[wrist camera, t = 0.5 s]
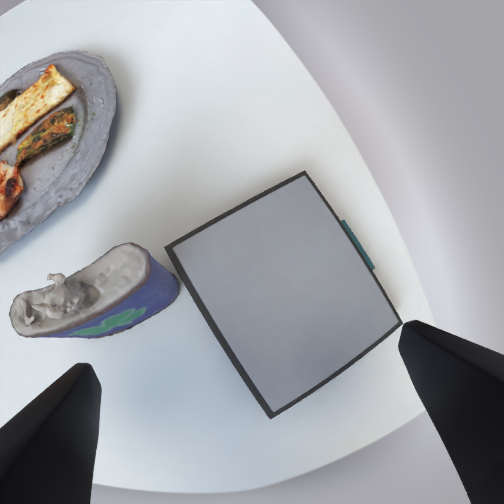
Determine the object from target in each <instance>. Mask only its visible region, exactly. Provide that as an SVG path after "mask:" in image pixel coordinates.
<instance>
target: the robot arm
mask: <svg viewBox="0 0 504 504" xmlns="http://www.w3.org/2000/svg"><path fill="white" fill-rule="evenodd" d="M398 348H399V352H400V355H401V357H402V359H403V361H404V364H405V366H406V368H407V371H408V373H409V375H410V378H411V380H412V383H413V385H414V387H415V389H416V391H417V393H418V395H419V397H420V399H421V401H422V403H423V405H424V407H425V408H426V410H427V412H428V414H429V416H430V418H431V420H432V422H433V423H434V426H435V427H436V429H437V431H438V433H439V435H440V437H441V439H442V441H443V443H444V445H445V447H446V449H447V451H448V453H449V455H450V457H451V460H452V462H453V464H454V466H455V468H456V470H457V472H458V474H459V477H460V479H461V481H462V483H463V485H464V488H465V490H466V492H467V495H468V497H469V500H470V502H471V504H504V355H502V354H500V353H498V352H495V351H493V350H490V349H488V348H485V347H483V346H480V345H478V344H475V343H473V342H470V341H468V340H466V339H463V338H460V337H458V336H456V335H453V334H451V333H448V332H446V331H443V330H441V329H438V328H436V327H433V326H431V325H428V324H426V323H423V322H421V321H418V320H413V321H409V322H406V323H404V325H403V327H402V331H401V336H400V340H399V344H398ZM101 393H102V388H101V384H100V382H99V380H98V378H97V376H96V374H95V372H94V369H93V367H92V366H91V365H90V364H89V363H77V364H75V365H74V366H73V367H71V368H70V369H69V370H68V371H67V372H65V373H64V374H63V375H62V376H61V377H60V378H58V379H57V380H56V381H55V382H54V383H52V384H51V385H50V386H49V387H48V388H47V389H45V390H44V391H43V392H42V393H41V394H39V395H38V396H37V397H36V398H35V399H34V400H32V401H31V402H30V403H29V404H28V405H27V406H25V407H24V408H23V409H22V410H21V411H20V412H19V413H17V414H16V415H15V416H14V417H13V418H12V419H10V420H9V421H8V422H7V423H6V424H5V425H4V426H2V427H1V428H0V504H90V499H91V489H92V479H93V471H94V463H95V456H96V449H97V443H98V436H99V420H100V405H101Z"/></svg>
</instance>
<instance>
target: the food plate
mask: <svg viewBox="0 0 504 504" xmlns="http://www.w3.org/2000/svg"><path fill="white" fill-rule="evenodd" d="M32 63H33V62H32ZM30 64H31V63H30ZM30 64H28V65H29V66H28V65H27V66H28V67H27V66H25V67H26V68H25V67H23V68H22V69H23V70H22V69H20V70H19V71H20V72H19V71H18V72H19V73H18V72H16V73H15V74H14V75H12V76H11V77H10V78H9V79H7V80H6V81H5V82H4V83H3V84H1V85H0V253H2V252H4V251H6V250H7V249H8V248H9V247H10V246H11V245H13V244H14V243H15V242H17V241H18V240H20V239H21V238H22V237H23V236H25V235H26V234H28V233H29V232H30V231H32V229H33V227H35V226H36V225H37V224H39V223H40V222H42V221H43V220H45V219H47V218H48V217H49V216H50V214H51V213H52V212H54V211H55V210H56V208H57V206H62V205H64V204H65V203H64V202H66V201H67V200H68V199H70V200H68V201H67V202H66V203H68V202H70V201H72V200H74V199H75V198H76V197H77V196H78V195H79V193H80V192H81V190H82V189H83V188H84V186H85V185H86V183H88V182H87V181H88V180H90V177H91V176H92V175H93V172H94V171H95V170H96V168H97V166H98V165H99V163H100V161H101V159H102V156H103V154H104V152H105V151H106V150H105V149H106V143H108V138H109V128H110V126H111V124H112V119H113V116H114V114H115V109H116V108H115V106H116V90H115V89H116V88H115V86H116V85H114V84H115V83H114V81H113V77H112V75H111V74H110V72H109V69H108V68H107V66H106V64H105V62H104V60H103V58H102V57H99V56H96V55H92V54H89V53H87V52H86V51H85V52H84V51H82V52H81V51H64V52H59V53H56V54H53V55H51V56H49V57H46V58H44V59H41V60H38V61H36V62H35V61H34V63H33V64H31V65H30ZM21 70H22V71H21ZM63 203H64V204H63Z"/></svg>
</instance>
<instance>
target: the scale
mask: <svg viewBox="0 0 504 504" xmlns="http://www.w3.org/2000/svg"><path fill="white" fill-rule="evenodd" d="M164 248H165V250H166V252H167V253H168V255H169V257H170V259H171V261H172V263H173V264H174V266H175V268H176V270H177V272H178V273H179V275H180V277H181V279H182V281H183V282H184V284H185V286H186V288H187V289H188V291H189V293H190V295H191V296H192V298H193V300H194V301H195V303H196V305H197V307H198V308H199V310H200V312H201V313H202V315H203V317H204V318H205V320H206V322H207V323H208V325H209V327H210V328H211V330H212V332H213V333H214V335H215V337H216V338H217V340H218V341H219V343H220V345H221V346H222V348H223V349H224V351H225V353H226V354H227V356H228V357H229V359H230V360H231V362H232V364H233V365H234V367H235V368H236V370H237V371H238V373H239V374H240V376H241V377H242V379H243V381H244V382H245V384H246V385H247V387H248V388H249V390H250V391H251V393H252V394H253V396H254V397H255V398H256V400H257V401H258V403H259V404H260V406H261V407H262V409H263V410H264V412H265V413H266V414H267V416H268V417H269V419H272V418H274V417H275V416H277V415H279V414H280V413H282V412H283V411H285V410H287V409H288V408H290V407H292V406H293V405H295V404H296V403H298V402H299V401H301V400H303V399H304V398H306V397H307V396H309V395H310V394H312V393H313V392H315V391H316V390H318V389H319V388H321V387H322V386H323V385H325V384H326V383H328V382H329V381H331V380H332V379H333V378H335V377H336V376H338V375H339V374H340V373H342V372H343V371H345V370H346V369H347V368H349V367H350V366H351V365H353V364H354V363H355V362H357V361H358V360H359V359H361V358H362V357H363V356H364V355H366V354H367V353H368V352H370V351H371V350H372V349H373V348H375V347H376V346H377V345H378V344H379V343H381V342H382V341H383V340H384V339H386V338H387V337H388V336H389V335H390V334H392V333H393V332H394V331H395V330H396V329H397V328H399V327H400V326H401V325H402V324H403V322H402V321H401V319H400V317H399V315H398V313H397V312H396V310H395V308H394V306H393V305H392V303H391V301H390V299H389V298H388V296H387V294H386V293H385V291H384V289H383V287H382V286H381V284H380V282H379V281H378V279H377V277H376V276H375V274H374V273H373V271H372V270H373V269H375V267H374V265H373V264H372V262H371V260H370V259H369V257H368V256H367V254H366V252H365V251H364V249H363V248H362V246H361V245H360V243H359V241H358V240H357V238H356V237H355V235H354V234H353V232H352V231H351V229H350V228H349V226H348V225H347V223H346V222H345V220H343V221H340V220H339V218H338V217H337V215H336V214H335V212H334V211H333V209H332V208H331V206H330V205H329V204H328V202H327V201H326V199H325V198H324V196H323V195H322V194H321V192H320V191H319V189H318V188H317V186H316V185H315V184H314V182H313V181H312V180H311V178H310V177H309V175H308V174H307V173H306V171H303V172H301V173H299V174H297V175H295V176H293V177H291V178H289V179H287V180H285V181H283V182H281V183H279V184H278V185H276V186H274V187H272V188H270V189H268V190H266V191H264V192H262V193H260V194H259V195H257V196H255V197H253V198H251V199H249V200H247V201H246V202H244V203H242V204H240V205H238V206H236V207H234V208H233V209H231V210H229V211H227V212H225V213H224V214H222V215H220V216H218V217H216V218H215V219H213V220H211V221H209V222H207V223H206V224H204V225H202V226H200V227H198V228H197V229H195V230H193V231H191V232H190V233H188V234H186V235H184V236H183V237H181V238H179V239H177V240H176V241H174V242H172V243H171V244H169V245H167V246H165V247H164Z"/></svg>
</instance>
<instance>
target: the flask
mask: <svg viewBox="0 0 504 504" xmlns="http://www.w3.org/2000/svg"><path fill="white" fill-rule="evenodd" d="M47 280H54V282H55V284H52V285H49V286H47V287H44V288H42V289H37V290H33V291H26V292H23V293H21V294H19V295H17V296H16V297H15V298H14V300H13V304H12V306H11V308H10V312H9V316H10V320H11V323H12V326H13V328H14V329H15V331H16V332H17V333H18V334H19V335H21V336H24V337H26V338H27V337H31V338H38V337H57V338H65V337H70V338H73V337H79V338H88V339H90V338H101V337H105V336H111V335H113V334H118V333H119V332H123V331H125V330H127V329H130V328H132V327H133V326H135V325H137V324H139V323H141V322H142V321H144V320H146V319H148V318H150V317H151V316H152V315H155V314H157V313H159V312H160V311H161V310H163V309H165V308H166V307H168V305H170V304H171V303H172V302H174V301H175V299H176V297H177V296H178V293H179V283H178V280H177V278H176V277H175V276H174V275H173V274H171V273H170V272H168V271H167V270H166V269H165V268H164V267H163V266H162V265H160V264H159V263H158V262H157V261H156V260H155V259H154V258H153V257H152V256H151V255H150V253H149V252H148V250H146V249H144V248H142V247H141V246H139V245H137V244H134V243H132V242H131V243H125V244H121V245H119V246H115V247H114V248H112V249H111V250H109V251H108V252H107V253H106V254H104V255H103V256H101V257H100V258H99V259H97V260H96V261H95V262H93V263H92V264H91V265H89V266H87V267H85V268H83V269H82V270H80V271H77V272H76V273H74V274H72V275H71V276H69V277H67V278H65V276H64V275H63V274H62V273H58V274H49V275H48V277H47Z"/></svg>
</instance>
